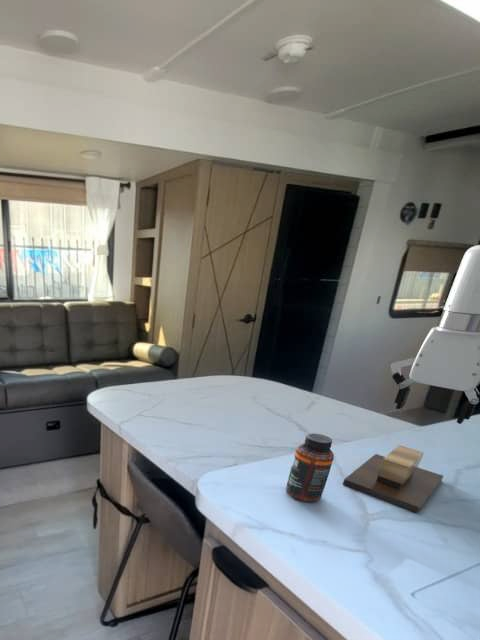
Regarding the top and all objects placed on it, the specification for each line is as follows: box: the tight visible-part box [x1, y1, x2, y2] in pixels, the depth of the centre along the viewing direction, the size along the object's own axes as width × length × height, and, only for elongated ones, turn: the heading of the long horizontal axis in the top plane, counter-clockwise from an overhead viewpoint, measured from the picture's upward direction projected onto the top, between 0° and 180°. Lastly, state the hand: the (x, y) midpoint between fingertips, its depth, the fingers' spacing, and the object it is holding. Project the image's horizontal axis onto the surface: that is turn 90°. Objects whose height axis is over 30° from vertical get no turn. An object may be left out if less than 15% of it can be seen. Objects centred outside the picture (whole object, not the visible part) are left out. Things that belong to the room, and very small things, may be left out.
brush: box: [377, 444, 425, 488], centre depth 77 cm, size 10×4×5 cm, turn 131°
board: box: [342, 453, 444, 514], centre depth 79 cm, size 18×12×1 cm, turn 131°
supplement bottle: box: [285, 432, 335, 503], centre depth 71 cm, size 6×6×11 cm
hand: (428, 414), depth 78 cm, fingers open, 9 cm apart
